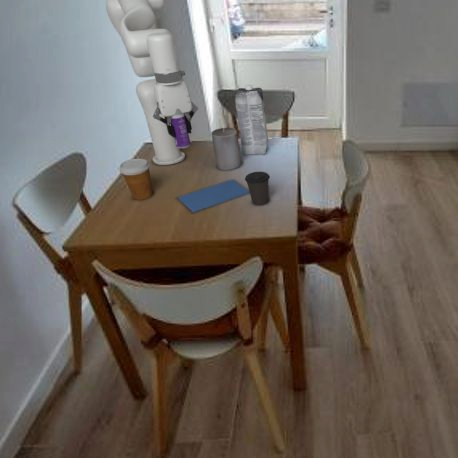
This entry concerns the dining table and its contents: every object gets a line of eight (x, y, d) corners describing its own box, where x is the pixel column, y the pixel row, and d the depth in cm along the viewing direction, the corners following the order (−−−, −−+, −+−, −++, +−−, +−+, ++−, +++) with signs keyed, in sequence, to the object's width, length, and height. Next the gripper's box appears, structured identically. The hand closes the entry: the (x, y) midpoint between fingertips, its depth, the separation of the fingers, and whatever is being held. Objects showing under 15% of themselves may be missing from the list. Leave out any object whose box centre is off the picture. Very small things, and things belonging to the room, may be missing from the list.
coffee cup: (265, 209, 140) (261, 181, 135) (243, 205, 143) (239, 178, 137) (276, 197, 147) (273, 171, 141) (255, 194, 149) (252, 167, 144)
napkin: (177, 198, 148) (177, 197, 148) (232, 180, 159) (232, 179, 159) (193, 212, 139) (192, 211, 139) (250, 192, 150) (249, 191, 150)
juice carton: (267, 155, 178) (259, 89, 163) (242, 156, 178) (232, 89, 163) (269, 147, 185) (262, 83, 170) (245, 147, 185) (236, 83, 170)
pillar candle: (224, 159, 175) (218, 123, 167) (246, 161, 173) (241, 125, 165) (212, 169, 167) (205, 132, 159) (235, 171, 165) (229, 134, 157)
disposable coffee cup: (122, 199, 148) (111, 167, 141) (141, 187, 155) (132, 156, 149) (144, 203, 145) (134, 171, 138) (163, 191, 152) (154, 160, 146)
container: (186, 148, 141) (176, 103, 133) (173, 147, 142) (162, 102, 134) (193, 143, 145) (184, 99, 137) (180, 142, 146) (170, 98, 137)
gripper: (189, 70, 138) (200, 125, 148) (136, 79, 129) (151, 137, 139) (199, 75, 133) (209, 131, 143) (144, 84, 124) (159, 144, 134)
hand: (180, 133), depth 141 cm, fingers closed on container, 4 cm apart
